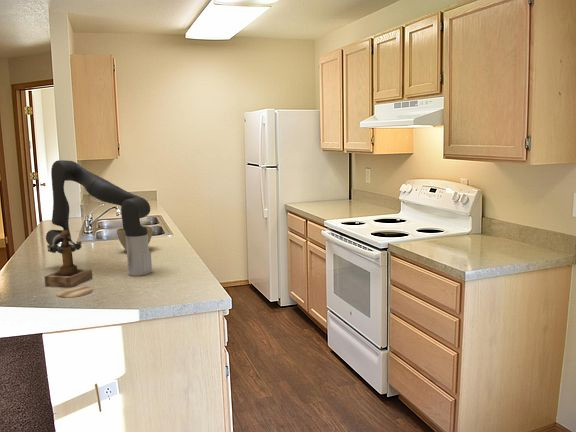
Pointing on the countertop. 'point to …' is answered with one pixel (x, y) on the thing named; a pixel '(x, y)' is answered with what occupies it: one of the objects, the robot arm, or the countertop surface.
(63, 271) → the mortar and pestle
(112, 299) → the countertop surface
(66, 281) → the walnut collar
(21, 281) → the countertop surface
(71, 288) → the cork trivet
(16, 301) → the countertop surface
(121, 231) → the flower pot
